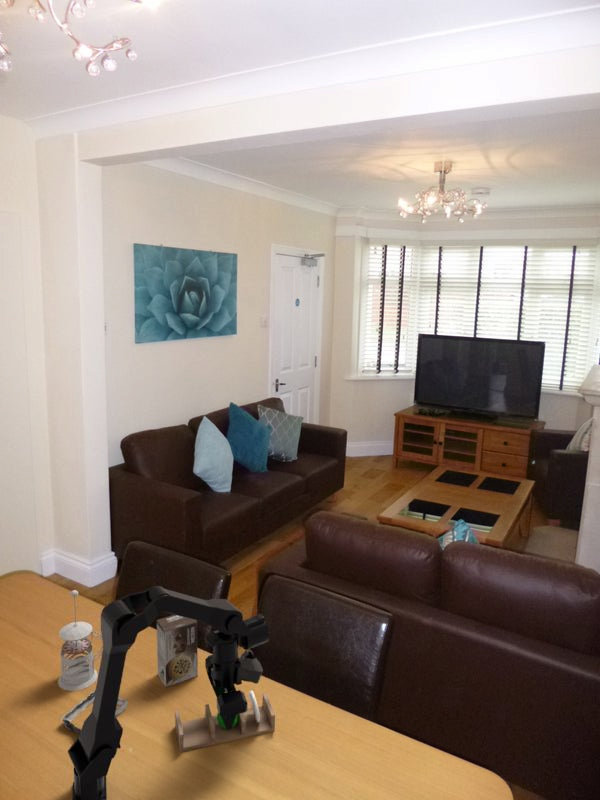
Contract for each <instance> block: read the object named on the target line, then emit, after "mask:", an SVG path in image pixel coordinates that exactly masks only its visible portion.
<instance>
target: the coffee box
mask: <svg viewBox="0 0 600 800" xmlns="http://www.w3.org/2000/svg"><path fill="white" fill-rule="evenodd" d="M156 648H157V650H156V652H157V675H158V677H159V678H160V680H161V682H162V683H163V685H164V687H165V688H167V687H170V686H172V685H173V686H174V685H176V684H179V683H182V682H185V681H187V680H190V679H192V678H195V677H198V675H199V672H198V671H199V665H198V659H199V657H198V620H194V619H190V618H186V617H182V616H178V615H174V614H171V615H169V616H166V617H163V618H159V619H156Z"/></svg>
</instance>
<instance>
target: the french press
mask: <svg viewBox="0 0 600 800" xmlns="http://www.w3.org/2000/svg"><path fill="white" fill-rule="evenodd" d="M69 594H70V595H69V596H70V597H73V599H74V605H73V606H74V608H76V597H78V596H79V592H78V590H76V589H74V590H71V591H70V593H69ZM76 613H77V612H76V609H74V621H73V622H71V623H68V624H67V625H64V626H62V628H61V629H59V633H58V634H59V635H58V636H59V638H60V639H62V640H63V641H65V642H64V643H62V646H61V650H60V663H61V664H60V665H61V667H60V668H61V674H60V676H59V677H58V680H57V685H58V687H60V688H61V689H62V690H65V691H69V692H71V691H72V692H73V691H81V690H83V689H86V688H88V687H89V686H92V685H93V684H94V683H95V682H96V681H97V680H98V674H99V673H98V671H97V670H96V669H95V665H94V663H95V662H94V661H96V660H97V659H99V658H100V657H102V652H103V644H102V645H101V648H100V650H99V651H98V652H97V653H95V654H94V655H93V645H92V640H93V639H94V636H95V637H98V638H99V639H100V640H101V642H102V643H103V640H102V634H101V633H100V632H98V631H95V630H93V628H94V627H93V626H92V625H91V624H90V623H88V622H86V621H77V618H76V617H77V615H76ZM93 633H97V634H93ZM90 635H91V636H90ZM89 636H90V637H91V639H89V638H88V637H89ZM84 655H85V656H84ZM97 655H98V656H97ZM75 656H76V657H75ZM96 656H97V657H96Z"/></svg>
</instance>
